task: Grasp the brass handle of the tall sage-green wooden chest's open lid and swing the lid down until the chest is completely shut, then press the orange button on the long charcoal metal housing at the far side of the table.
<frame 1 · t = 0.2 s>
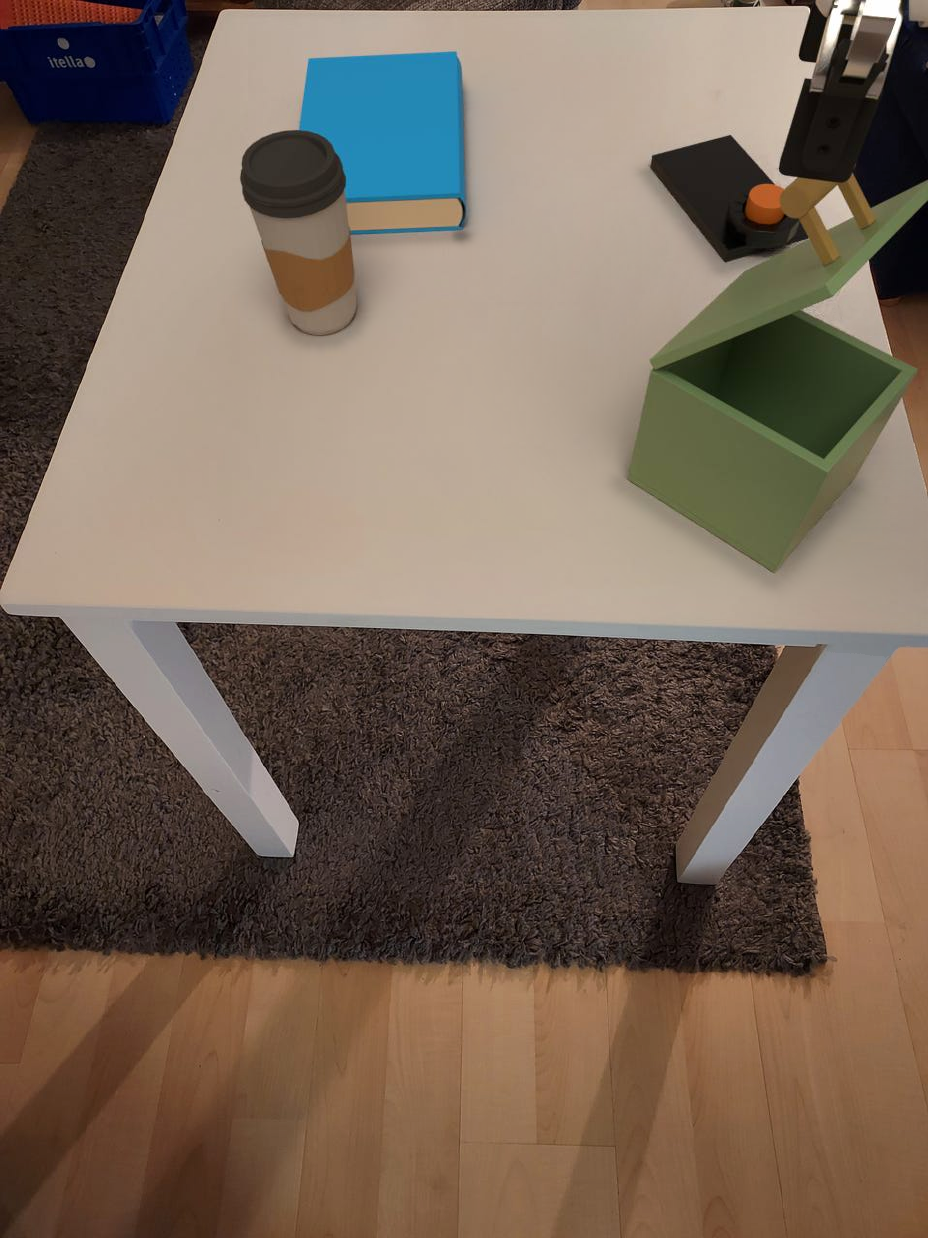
hand: (821, 115, 41), 29 cm above the table, tool pointing down, fingers open, 9 cm apart
button housing: (726, 201, 84), on the table
button: (766, 204, 78), point 4 cm above the table, slide at 0.1 cm
book: (385, 159, 90), on the table
lid: (762, 248, 52), point 19 cm above the table, hinge at 50.0°
coffee cup: (323, 314, 78), on the table
chest: (739, 479, 67), on the table
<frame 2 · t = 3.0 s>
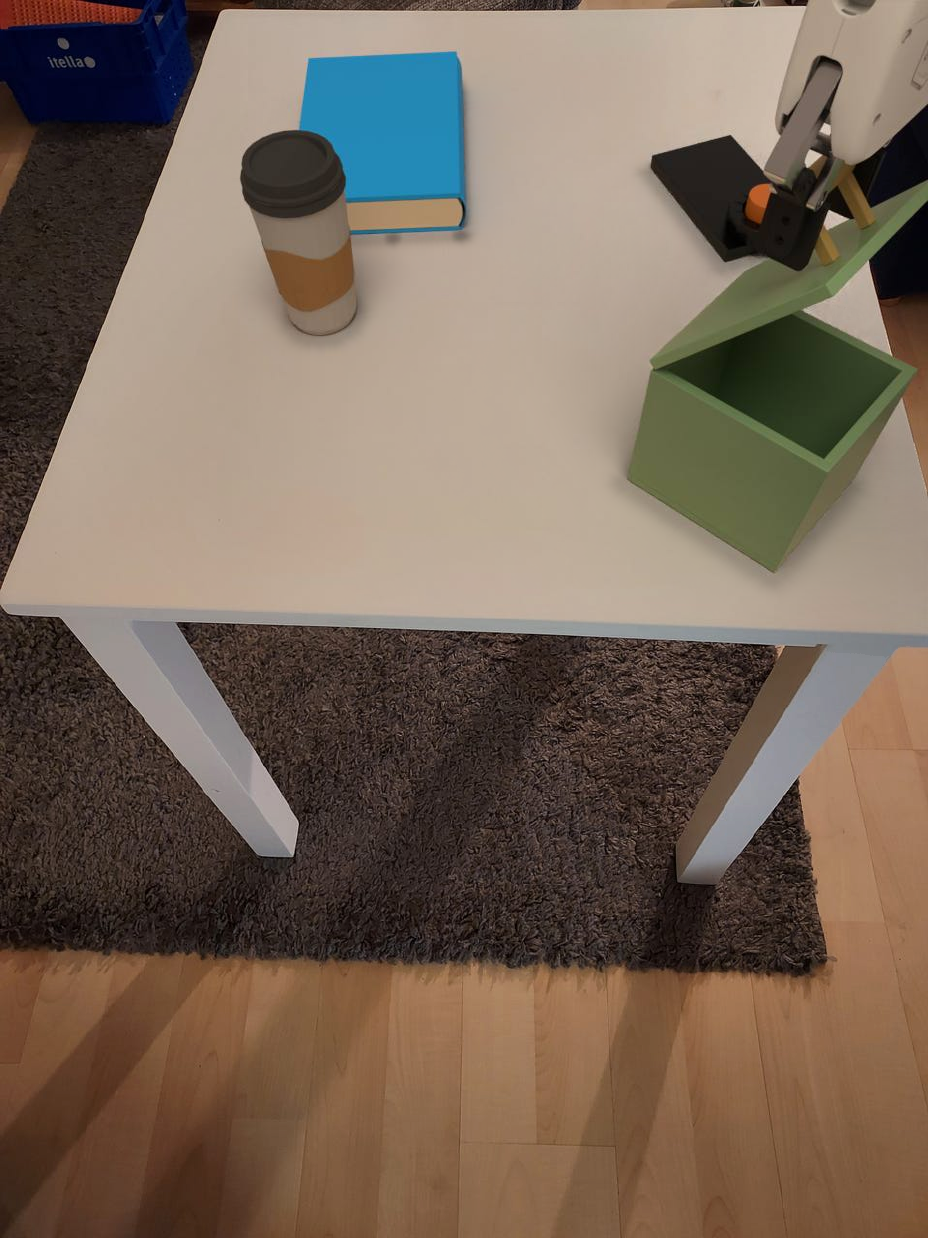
hand: (807, 230, 49), 22 cm above the table, tool pointing down, fingers closed on lid, 5 cm apart
lid: (762, 248, 52), point 19 cm above the table, hinge at 50.0°, touching gripper
everything else where it was.
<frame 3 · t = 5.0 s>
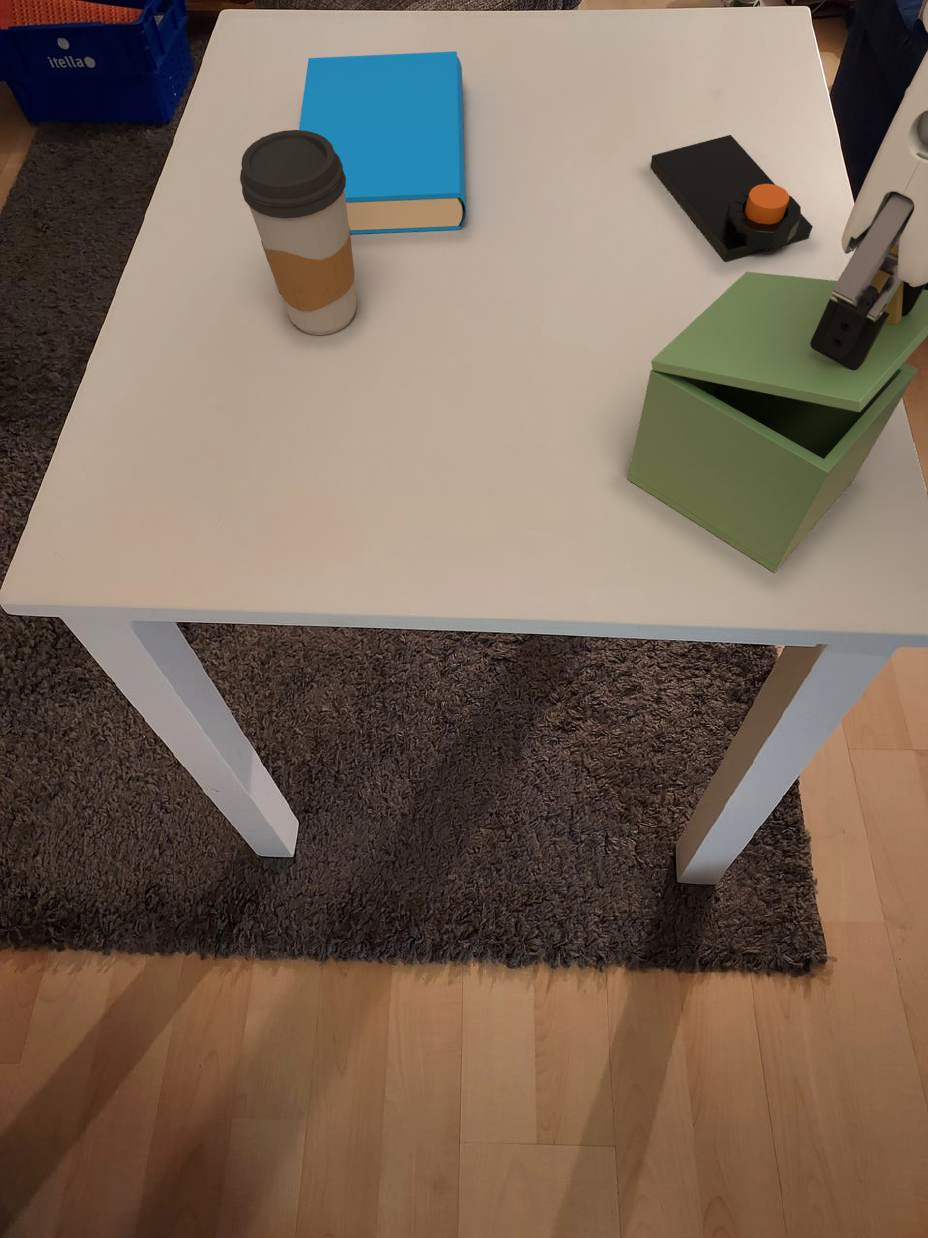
hand: (860, 327, 51), 17 cm above the table, tool pointing down, fingers closed on lid, 5 cm apart
lid: (795, 299, 52), point 17 cm above the table, hinge at 21.3°, touching gripper
everything else where it was.
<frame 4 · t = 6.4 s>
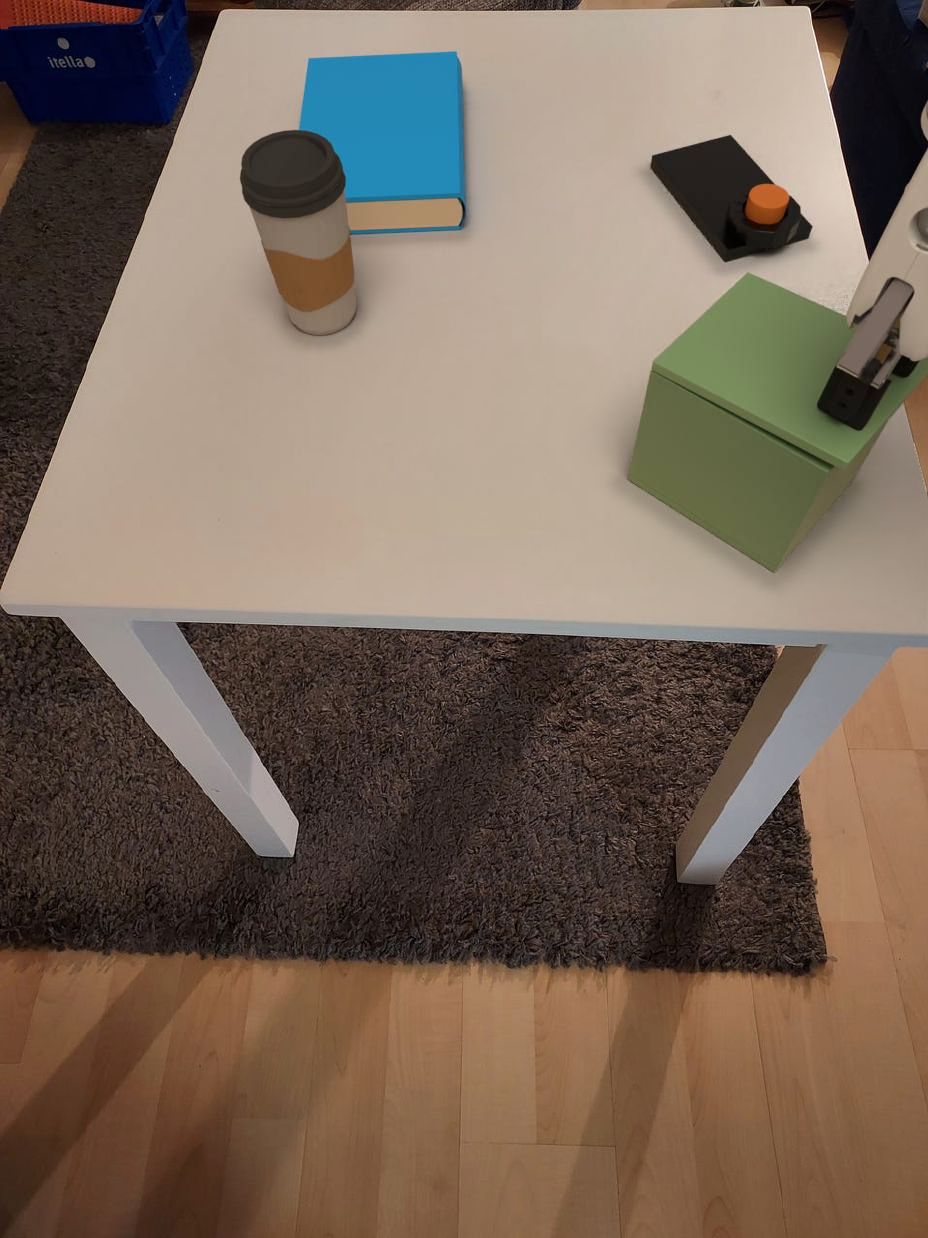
hand: (864, 388, 53), 14 cm above the table, tool pointing down, fingers closed on lid, 5 cm apart
lid: (802, 334, 54), point 15 cm above the table, hinge at 2.7°, touching gripper
everything else where it was.
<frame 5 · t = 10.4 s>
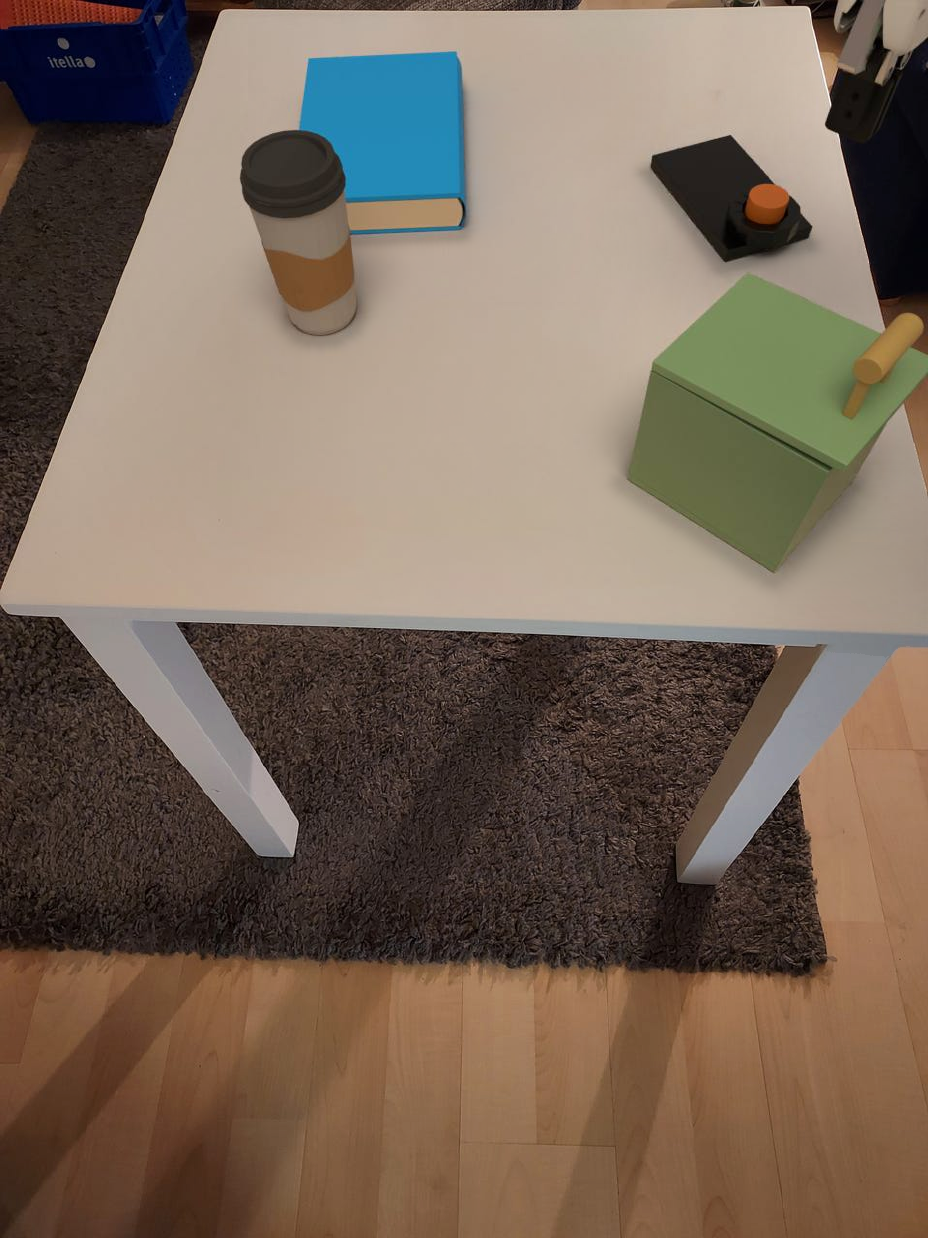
hand: (850, 129, 57), 19 cm above the table, tool pointing down, fingers closed
lid: (802, 336, 54), point 15 cm above the table, hinge at 1.9°
everything else where it was.
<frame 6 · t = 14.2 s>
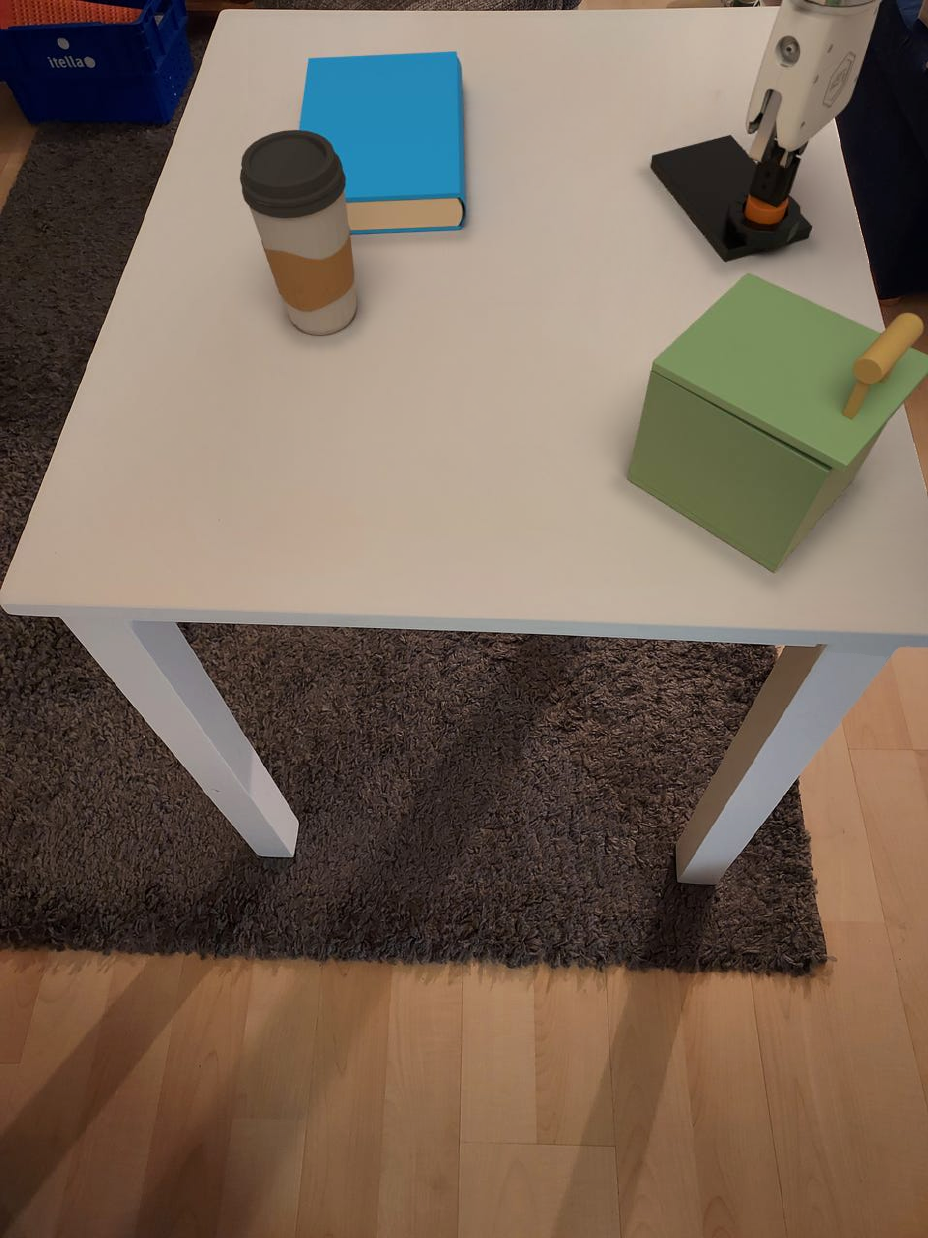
hand: (767, 196, 77), 4 cm above the table, tool pointing down, fingers closed
button: (765, 206, 78), point 3 cm above the table, slide at -0.1 cm, touching gripper
everything else where it was.
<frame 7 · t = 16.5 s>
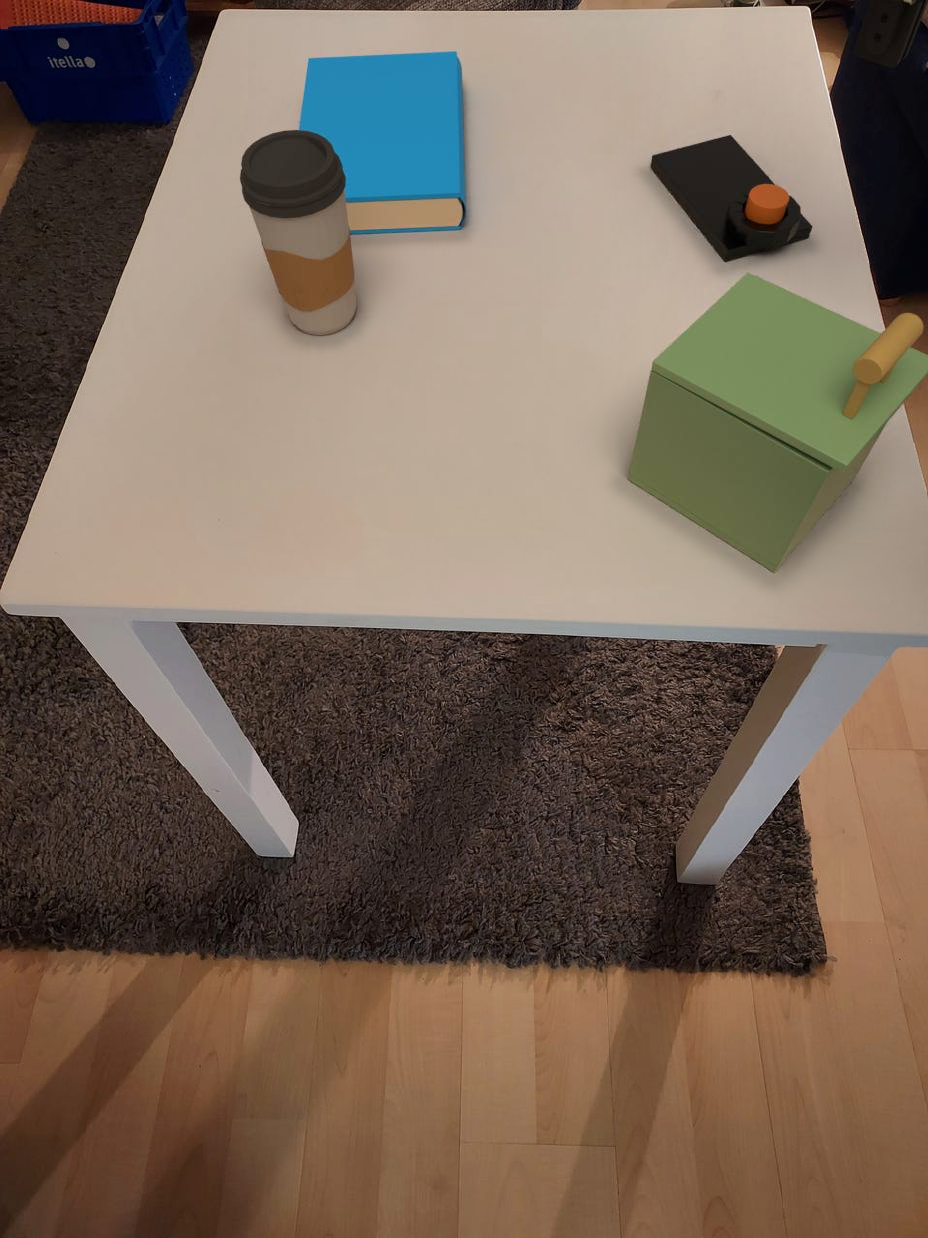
hand: (879, 56, 58), 21 cm above the table, tool pointing down, fingers closed
button: (766, 204, 78), point 4 cm above the table, slide at 0.1 cm
everything else where it was.
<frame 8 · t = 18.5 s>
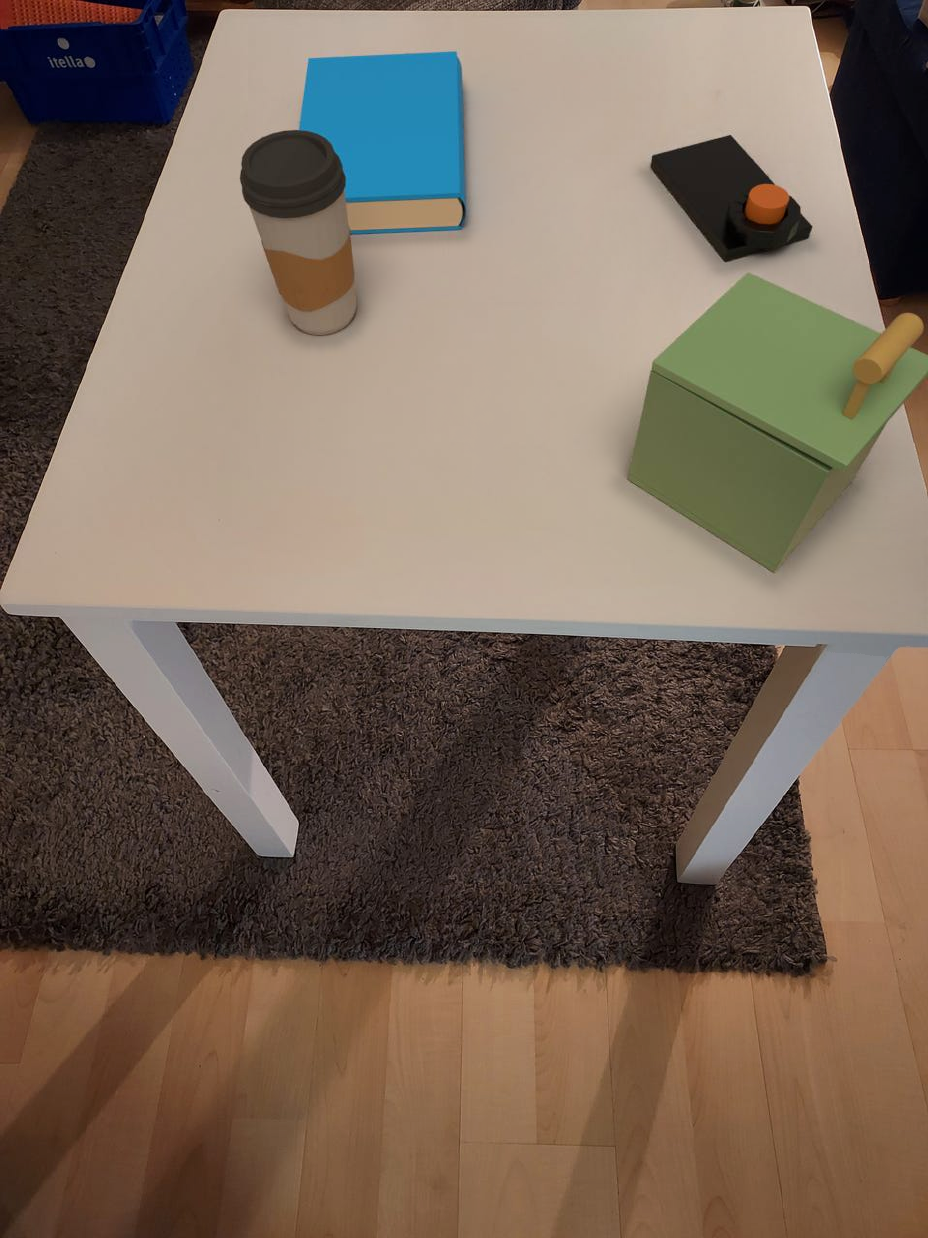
nothing on the table moved.
at the end: lid at +2° (first picture: +50°); button pushed in 1.0 cm at the most during the clip, back to where it started at the end; button slide at 0.1 cm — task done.
